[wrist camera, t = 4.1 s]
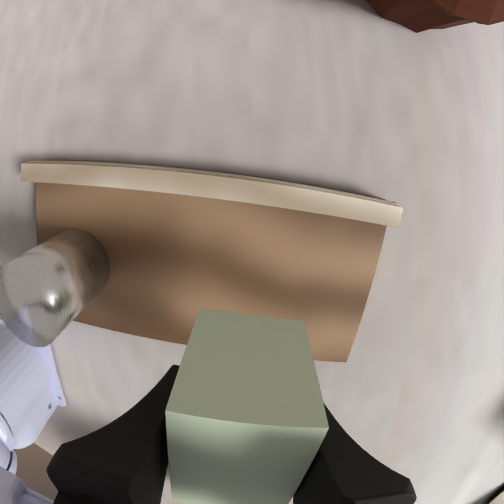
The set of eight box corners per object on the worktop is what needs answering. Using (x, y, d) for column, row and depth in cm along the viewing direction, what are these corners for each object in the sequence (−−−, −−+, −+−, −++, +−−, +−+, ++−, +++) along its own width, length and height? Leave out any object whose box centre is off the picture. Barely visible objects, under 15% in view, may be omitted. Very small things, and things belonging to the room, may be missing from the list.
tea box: (303, 321, 13) (329, 427, 7) (277, 415, 15) (283, 512, 9) (196, 306, 13) (159, 409, 7) (190, 405, 15) (168, 500, 9)
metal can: (111, 301, 21) (64, 357, 14) (55, 288, 21) (2, 334, 14) (109, 233, 19) (50, 272, 13) (51, 224, 19) (-14, 256, 12)
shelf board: (342, 353, 23) (351, 377, 20) (53, 306, 23) (34, 323, 20) (384, 198, 19) (403, 206, 17) (46, 158, 19) (21, 162, 16)
